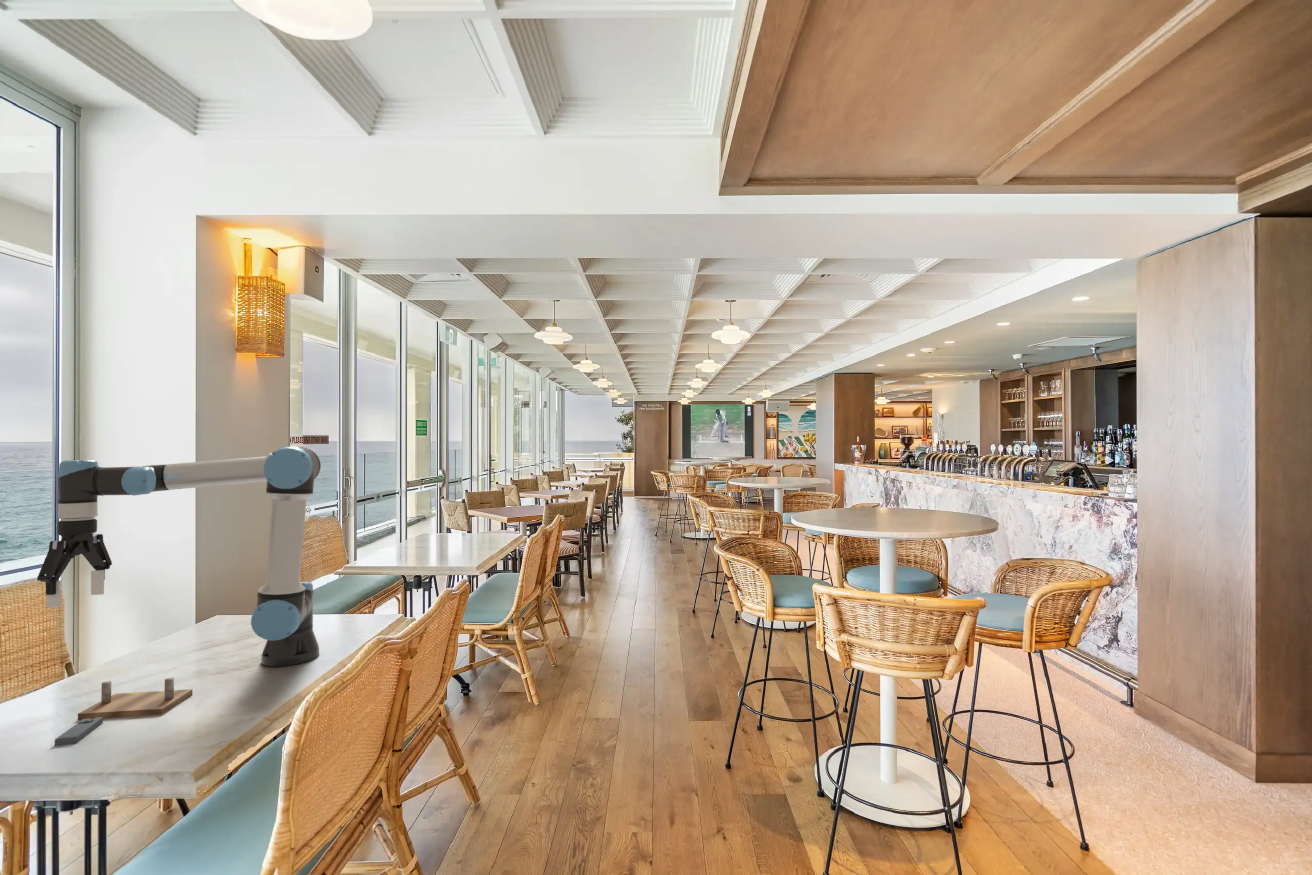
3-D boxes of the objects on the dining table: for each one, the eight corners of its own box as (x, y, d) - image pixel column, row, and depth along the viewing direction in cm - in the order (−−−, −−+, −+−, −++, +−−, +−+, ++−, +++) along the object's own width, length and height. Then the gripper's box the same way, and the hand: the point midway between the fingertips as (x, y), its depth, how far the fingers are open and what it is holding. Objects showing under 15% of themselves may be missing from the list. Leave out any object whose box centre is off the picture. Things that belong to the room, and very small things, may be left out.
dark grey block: (54, 748, 131) (54, 738, 131) (82, 727, 141) (82, 718, 141) (76, 745, 132) (77, 736, 132) (103, 724, 142) (103, 716, 142)
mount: (192, 694, 158) (192, 669, 158) (162, 714, 146) (162, 687, 146) (114, 699, 155) (115, 673, 155) (77, 720, 143) (78, 692, 144)
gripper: (99, 514, 171) (98, 590, 170) (17, 525, 146) (15, 613, 145) (129, 513, 171) (128, 589, 171) (51, 524, 147) (50, 612, 146)
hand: (76, 600), depth 158 cm, fingers open, 13 cm apart
